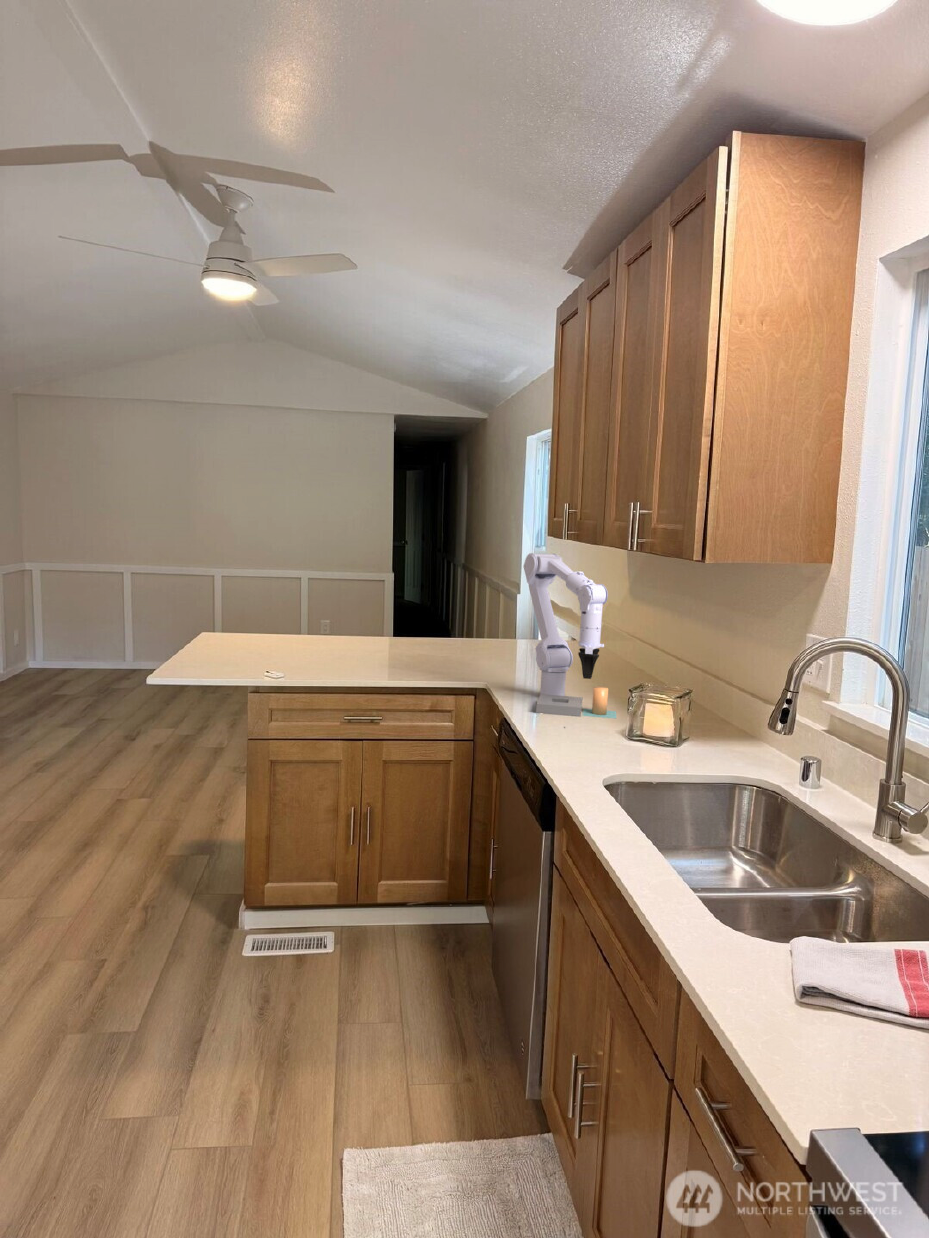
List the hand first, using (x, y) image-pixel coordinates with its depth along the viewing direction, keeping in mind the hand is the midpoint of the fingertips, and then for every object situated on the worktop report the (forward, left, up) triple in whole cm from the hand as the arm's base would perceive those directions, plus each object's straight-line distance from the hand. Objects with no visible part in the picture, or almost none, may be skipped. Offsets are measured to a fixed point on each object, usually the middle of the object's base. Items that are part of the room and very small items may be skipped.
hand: (587, 676), depth 237 cm
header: (+3, -7, -10) cm, 12 cm away
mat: (+4, +4, -10) cm, 11 cm away
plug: (+4, +4, -9) cm, 11 cm away
